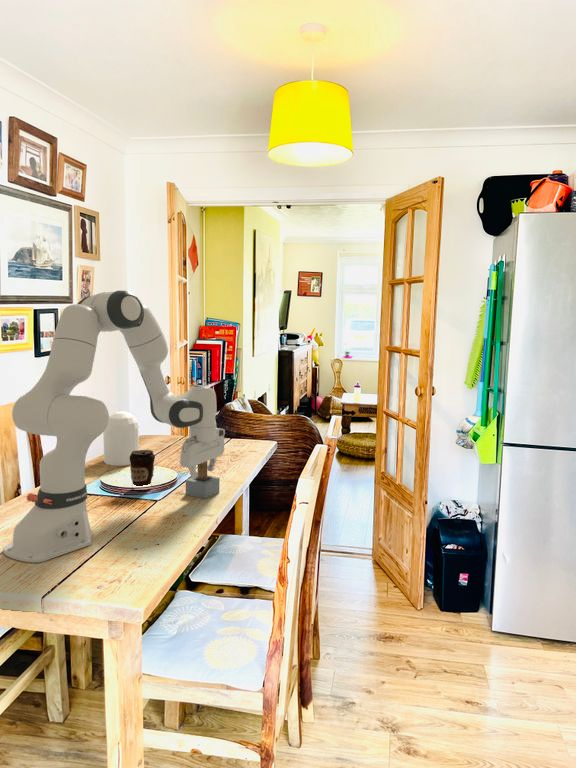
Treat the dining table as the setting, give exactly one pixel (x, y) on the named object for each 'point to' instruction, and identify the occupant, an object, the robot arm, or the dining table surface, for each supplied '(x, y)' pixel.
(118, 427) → the container
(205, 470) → the dowel
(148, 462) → the coffee cup
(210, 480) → the socket block
